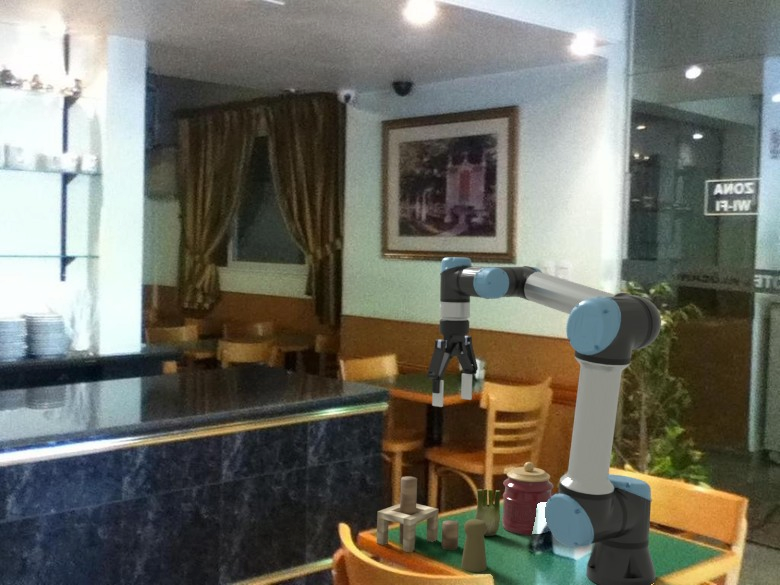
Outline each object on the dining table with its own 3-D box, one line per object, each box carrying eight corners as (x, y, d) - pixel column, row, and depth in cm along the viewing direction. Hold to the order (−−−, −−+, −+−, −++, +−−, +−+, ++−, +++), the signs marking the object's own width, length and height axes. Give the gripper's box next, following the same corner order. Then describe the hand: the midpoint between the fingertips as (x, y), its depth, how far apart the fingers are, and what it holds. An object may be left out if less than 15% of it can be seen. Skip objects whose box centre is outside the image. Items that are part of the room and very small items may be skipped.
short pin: (461, 546, 234) (461, 522, 234) (452, 550, 231) (452, 526, 230) (447, 543, 236) (448, 519, 236) (438, 547, 233) (439, 523, 233)
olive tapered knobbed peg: (485, 572, 216) (487, 525, 216) (459, 570, 218) (460, 523, 217) (488, 563, 222) (490, 517, 222) (462, 561, 224) (464, 515, 223)
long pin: (418, 541, 237) (420, 478, 236) (409, 545, 234) (410, 481, 232) (405, 538, 239) (407, 475, 238) (395, 542, 236) (397, 478, 235)
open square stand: (437, 540, 238) (438, 508, 238) (409, 552, 229) (410, 519, 228) (405, 531, 244) (406, 501, 244) (376, 543, 235) (377, 511, 234)
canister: (492, 523, 253) (494, 458, 252) (533, 518, 259) (536, 454, 258) (519, 538, 241) (521, 470, 240) (561, 532, 247) (564, 466, 246)
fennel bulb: (500, 534, 244) (502, 488, 243) (492, 539, 240) (494, 493, 239) (480, 530, 247) (481, 485, 246) (472, 535, 243) (473, 489, 242)
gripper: (467, 314, 251) (465, 394, 252) (414, 320, 231) (412, 407, 232) (492, 316, 247) (490, 398, 248) (440, 322, 226) (437, 411, 228)
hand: (452, 402), depth 240 cm, fingers open, 13 cm apart
